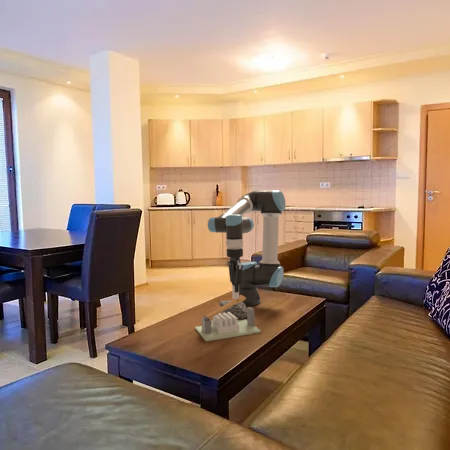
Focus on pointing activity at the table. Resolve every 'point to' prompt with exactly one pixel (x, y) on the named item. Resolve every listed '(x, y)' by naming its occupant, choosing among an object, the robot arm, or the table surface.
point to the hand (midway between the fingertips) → (235, 298)
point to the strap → (224, 307)
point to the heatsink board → (231, 334)
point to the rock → (235, 309)
